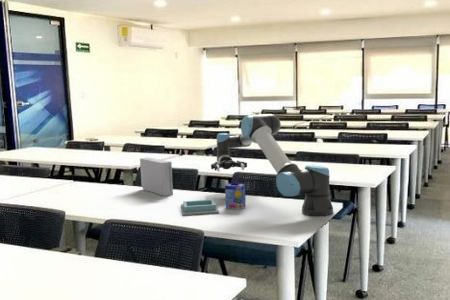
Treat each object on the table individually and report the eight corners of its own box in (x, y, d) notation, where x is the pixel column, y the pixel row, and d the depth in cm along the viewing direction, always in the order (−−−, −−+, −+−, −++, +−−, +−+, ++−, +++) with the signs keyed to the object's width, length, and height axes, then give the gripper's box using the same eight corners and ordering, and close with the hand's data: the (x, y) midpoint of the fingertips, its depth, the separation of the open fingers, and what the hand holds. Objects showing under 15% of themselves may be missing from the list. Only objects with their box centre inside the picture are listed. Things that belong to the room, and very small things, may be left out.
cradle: (218, 213, 248) (218, 206, 248) (183, 215, 246) (182, 209, 246) (214, 203, 268) (214, 197, 268) (181, 206, 266) (180, 199, 265)
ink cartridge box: (225, 208, 258) (224, 181, 256) (227, 205, 263) (226, 179, 261) (243, 208, 256) (242, 181, 254) (245, 206, 261) (245, 179, 259)
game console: (164, 196, 290) (163, 163, 287) (141, 189, 311) (139, 158, 308) (173, 194, 294) (171, 161, 291) (149, 188, 315) (147, 157, 312)
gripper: (247, 167, 291) (254, 173, 270) (204, 169, 287) (208, 176, 266) (246, 154, 289) (253, 160, 269) (204, 156, 286) (208, 162, 265)
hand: (231, 168), depth 267 cm, fingers open, 13 cm apart
